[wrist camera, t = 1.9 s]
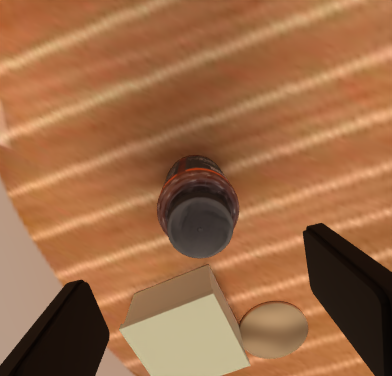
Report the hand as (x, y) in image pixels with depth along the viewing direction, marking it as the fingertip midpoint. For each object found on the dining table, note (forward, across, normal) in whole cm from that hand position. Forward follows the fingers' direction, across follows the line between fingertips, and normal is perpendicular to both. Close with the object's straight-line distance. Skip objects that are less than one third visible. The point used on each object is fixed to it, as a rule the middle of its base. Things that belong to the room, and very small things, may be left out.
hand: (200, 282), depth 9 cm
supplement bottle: (+15, 0, -1) cm, 15 cm away
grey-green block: (+16, +5, +15) cm, 22 cm away
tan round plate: (+16, -5, +21) cm, 27 cm away
